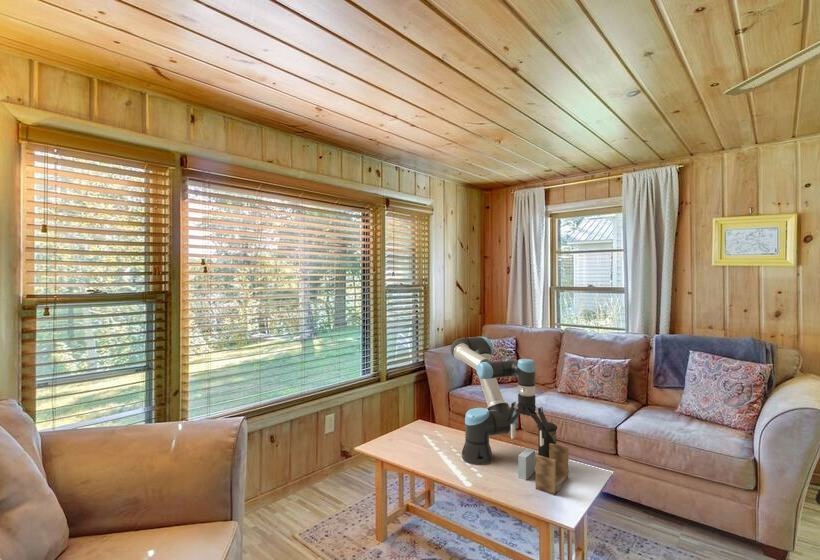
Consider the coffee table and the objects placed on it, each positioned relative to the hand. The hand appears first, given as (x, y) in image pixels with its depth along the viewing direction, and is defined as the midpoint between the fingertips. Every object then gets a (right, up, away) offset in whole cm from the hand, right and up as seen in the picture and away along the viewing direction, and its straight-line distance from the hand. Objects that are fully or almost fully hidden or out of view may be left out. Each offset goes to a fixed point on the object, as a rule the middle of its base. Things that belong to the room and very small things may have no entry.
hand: (527, 441), depth 183 cm
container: (+12, -15, +9) cm, 21 cm away
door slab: (0, -15, 0) cm, 15 cm away
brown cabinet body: (+9, -15, -8) cm, 19 cm away
